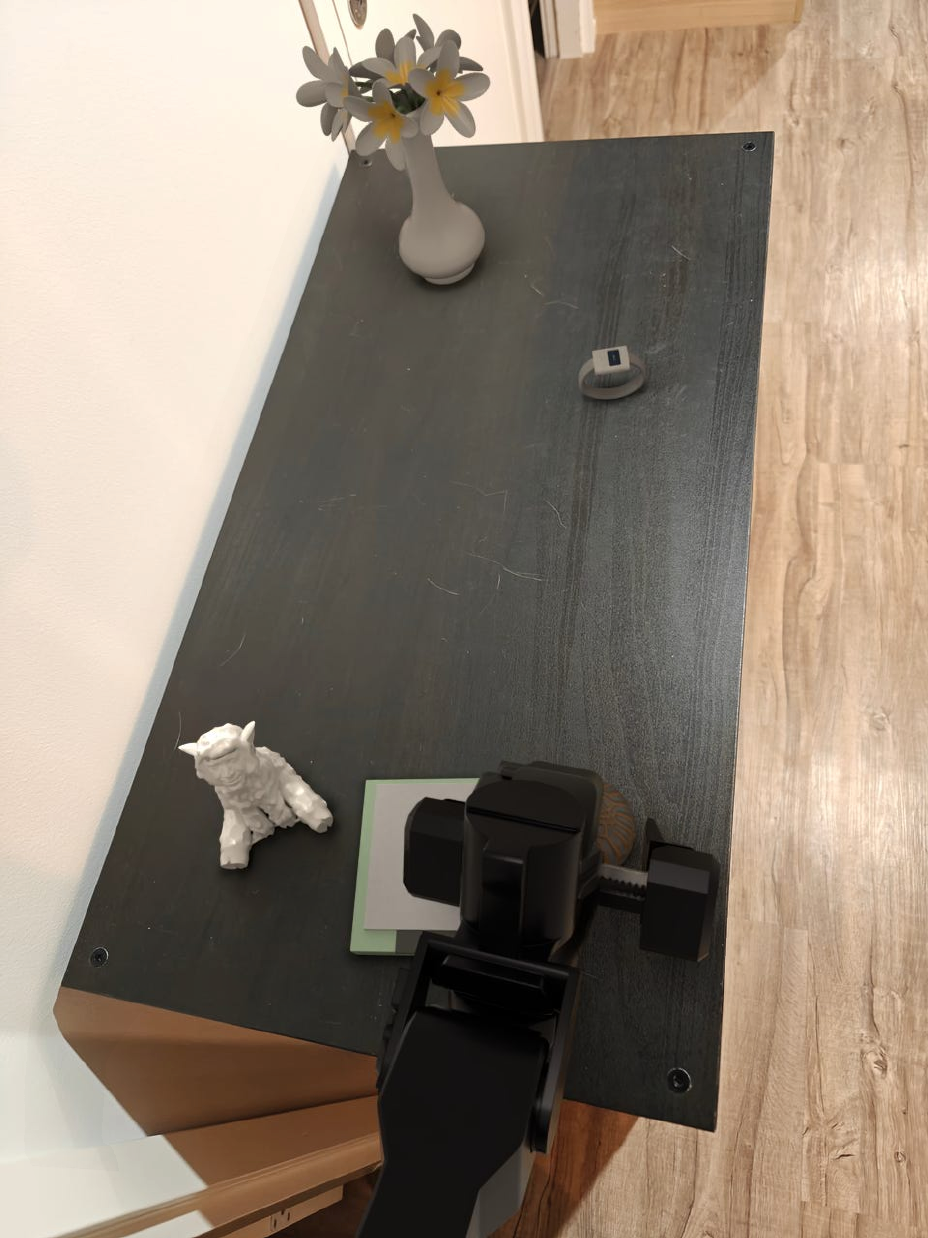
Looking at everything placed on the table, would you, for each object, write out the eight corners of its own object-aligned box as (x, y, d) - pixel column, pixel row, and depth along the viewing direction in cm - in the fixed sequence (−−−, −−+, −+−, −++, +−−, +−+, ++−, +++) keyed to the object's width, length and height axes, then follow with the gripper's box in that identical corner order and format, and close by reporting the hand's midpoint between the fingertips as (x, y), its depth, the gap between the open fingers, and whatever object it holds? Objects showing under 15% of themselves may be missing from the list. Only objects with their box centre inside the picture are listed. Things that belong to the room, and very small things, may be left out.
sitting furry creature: (229, 878, 75) (159, 838, 65) (203, 784, 79) (134, 732, 69) (338, 828, 75) (286, 780, 65) (306, 736, 80) (253, 678, 69)
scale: (529, 959, 68) (525, 955, 66) (355, 956, 70) (347, 952, 69) (531, 783, 74) (528, 775, 72) (371, 786, 76) (364, 778, 75)
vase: (533, 872, 71) (517, 841, 63) (558, 786, 74) (546, 746, 66) (623, 898, 69) (618, 870, 61) (646, 808, 72) (643, 771, 64)
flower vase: (380, 223, 108) (309, -2, 87) (536, 228, 103) (502, -10, 82) (345, 306, 103) (260, 89, 81) (507, 316, 98) (463, 86, 76)
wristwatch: (582, 410, 90) (578, 374, 86) (579, 388, 92) (575, 352, 87) (647, 400, 90) (646, 363, 85) (643, 378, 91) (642, 341, 87)
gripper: (726, 856, 45) (739, 726, 59) (365, 784, 50) (456, 680, 64) (698, 1043, 49) (716, 878, 63) (363, 958, 54) (450, 823, 68)
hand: (582, 810), depth 64 cm, fingers open, 9 cm apart
